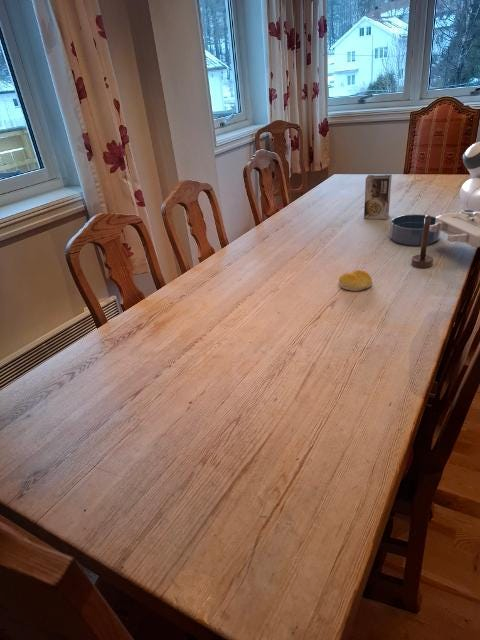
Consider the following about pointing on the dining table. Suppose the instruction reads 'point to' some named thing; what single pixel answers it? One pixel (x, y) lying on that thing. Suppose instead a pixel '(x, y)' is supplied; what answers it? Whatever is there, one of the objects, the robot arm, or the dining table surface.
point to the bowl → (411, 230)
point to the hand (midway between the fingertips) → (439, 233)
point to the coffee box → (377, 196)
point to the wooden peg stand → (423, 248)
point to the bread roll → (355, 280)
